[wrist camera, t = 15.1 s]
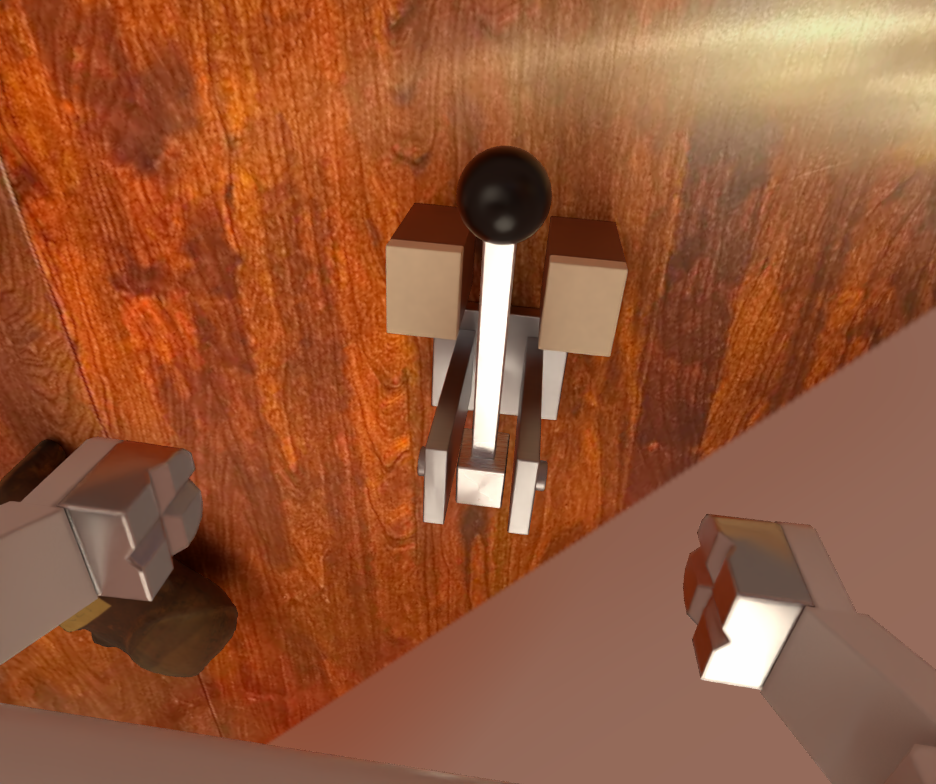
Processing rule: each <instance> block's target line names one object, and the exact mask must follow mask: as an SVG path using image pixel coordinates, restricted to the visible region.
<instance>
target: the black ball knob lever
mask: <svg viewBox="0 0 936 784" xmlns="http://www.w3.org/2000/svg"><path fill="white" fill-rule="evenodd" d="M456 197H457V206H458V211H459V214H460V216H461V218H462V220H463V222H464V224H465V225H466V227H467V228H468V229H469V230H470V231H471V232H472V233H473V234H474V235H475V236H476V237H478V238H479V239H481V240H483V250H482V267H481V285H480V303H479V321H478V338H477V356H476V374H475V392H474V409H473V427H472V429H466V428H465V429H464V430H463V434H462V440H461V446H460V451H459V457H458V463H457V475H456V502H457V503H463V504H470V505H478V506H486V507H494V508H501V506H502V498H503V490H504V482H505V474H506V465H507V455H508V446H509V437H510V435H509V434H508V433H500V432H498V426H499V416H500V407H501V397H502V387H503V377H504V367H505V357H506V347H507V337H508V327H509V317H510V307H511V297H512V288H513V278H514V268H515V258H516V248H517V243H519V242H522V241H524V240H526V239H527V238H529V237H531V236H532V235H533V234H534V233H535V232H536V231H537V230H538V229H539V228H540V227H541V226H542V224H543V223H544V221H545V219H546V217H547V215H548V213H549V210H550V205H551V200H552V191H551V184H550V180H549V177H548V174H547V172H546V170H545V168H544V167H543V166H542V164H541V163H540V162H539V161H538V160H537V159H536V158H535V157H534V156H533V155H532V154H530V153H529V152H527V151H525V150H523V149H521V148H517V147H513V146H497V147H492V148H489V149H487V150H485V151H483V152H481V153H479V154H478V155H477V156H475V157H474V158H473V159H472V160H471V161H470V162H469V163H468V164H467V166H466V167H465V169H464V170H463V172H462V174H461V176H460V179H459V182H458V186H457V194H456Z"/></svg>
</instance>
